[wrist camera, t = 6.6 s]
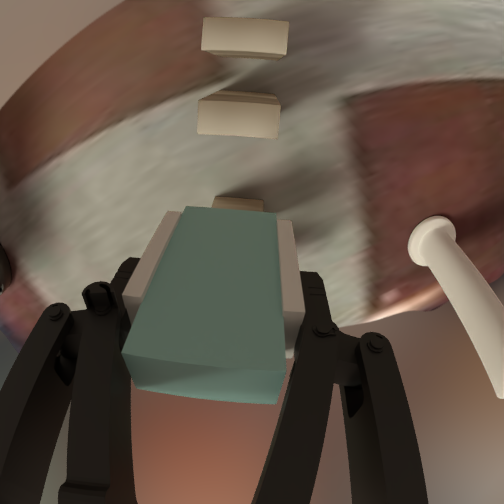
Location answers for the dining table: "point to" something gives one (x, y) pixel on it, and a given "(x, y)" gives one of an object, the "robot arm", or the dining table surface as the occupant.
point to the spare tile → (213, 311)
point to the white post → (463, 292)
